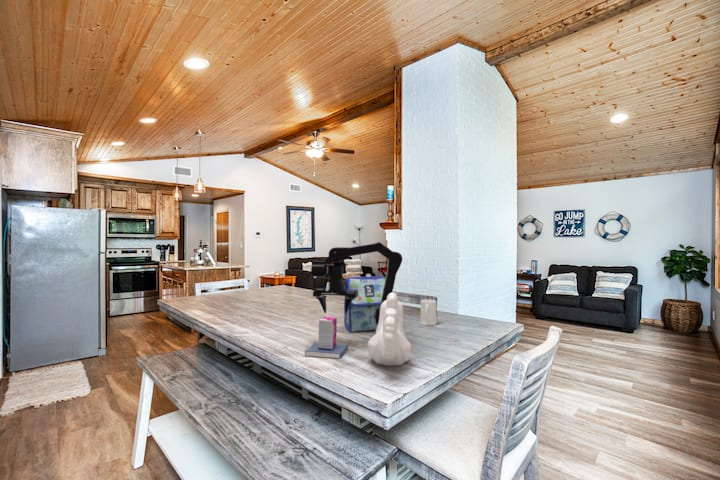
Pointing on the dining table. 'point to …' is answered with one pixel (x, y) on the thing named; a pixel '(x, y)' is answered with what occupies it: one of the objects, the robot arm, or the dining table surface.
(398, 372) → the dining table surface
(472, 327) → the dining table surface
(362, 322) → the lunch bag
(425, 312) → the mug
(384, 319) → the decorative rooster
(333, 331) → the supplement box
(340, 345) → the notebook
